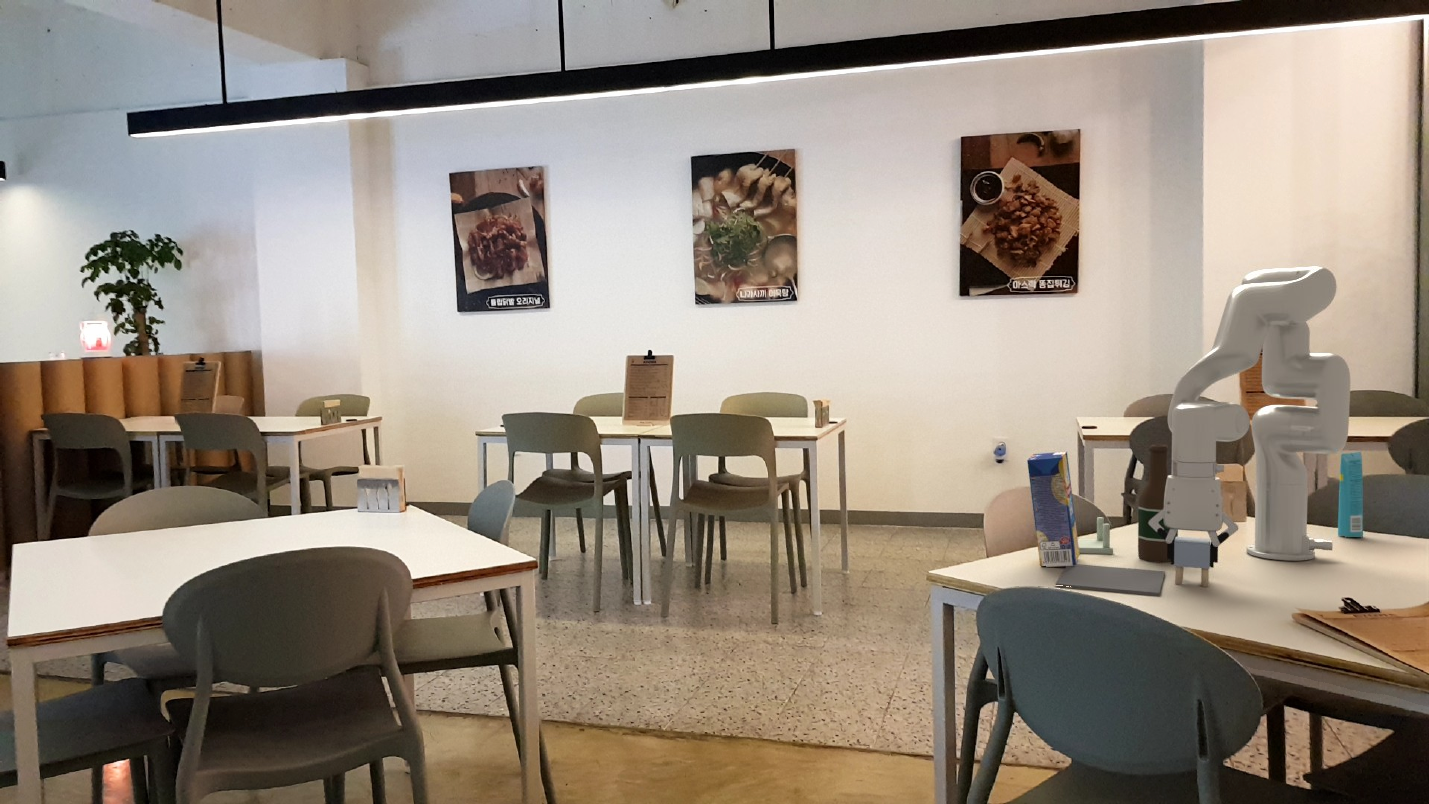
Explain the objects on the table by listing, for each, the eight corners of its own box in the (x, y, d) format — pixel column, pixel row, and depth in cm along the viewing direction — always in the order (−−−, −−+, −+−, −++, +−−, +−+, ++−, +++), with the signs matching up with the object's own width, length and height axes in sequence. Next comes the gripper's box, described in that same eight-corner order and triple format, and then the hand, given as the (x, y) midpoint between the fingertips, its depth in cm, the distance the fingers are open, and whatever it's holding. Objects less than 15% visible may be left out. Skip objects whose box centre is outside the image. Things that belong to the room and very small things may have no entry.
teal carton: (1346, 532, 235) (1348, 450, 234) (1369, 536, 231) (1371, 452, 230) (1330, 536, 231) (1332, 453, 229) (1353, 540, 227) (1355, 454, 225)
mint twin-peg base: (1104, 544, 227) (1105, 516, 227) (1113, 553, 218) (1113, 525, 217) (1058, 543, 229) (1058, 516, 229) (1064, 552, 220) (1064, 524, 219)
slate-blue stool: (1209, 580, 194) (1210, 538, 193) (1209, 587, 188) (1209, 545, 188) (1175, 577, 196) (1175, 536, 196) (1173, 584, 191) (1174, 542, 190)
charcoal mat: (1164, 574, 199) (1164, 571, 199) (1159, 596, 183) (1159, 592, 183) (1068, 566, 207) (1068, 563, 207) (1055, 586, 191) (1055, 583, 191)
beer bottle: (1182, 563, 208) (1183, 447, 206) (1141, 562, 209) (1142, 447, 208) (1173, 555, 215) (1174, 442, 214) (1134, 554, 217) (1135, 442, 215)
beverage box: (1079, 554, 214) (1067, 451, 214) (1075, 565, 204) (1062, 457, 204) (1045, 555, 217) (1033, 454, 216) (1040, 567, 207) (1027, 460, 206)
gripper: (1244, 469, 190) (1243, 564, 191) (1145, 465, 198) (1144, 556, 199) (1245, 474, 184) (1243, 573, 185) (1142, 470, 191) (1141, 565, 192)
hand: (1192, 563), depth 192 cm, fingers closed on slate-blue stool, 6 cm apart
